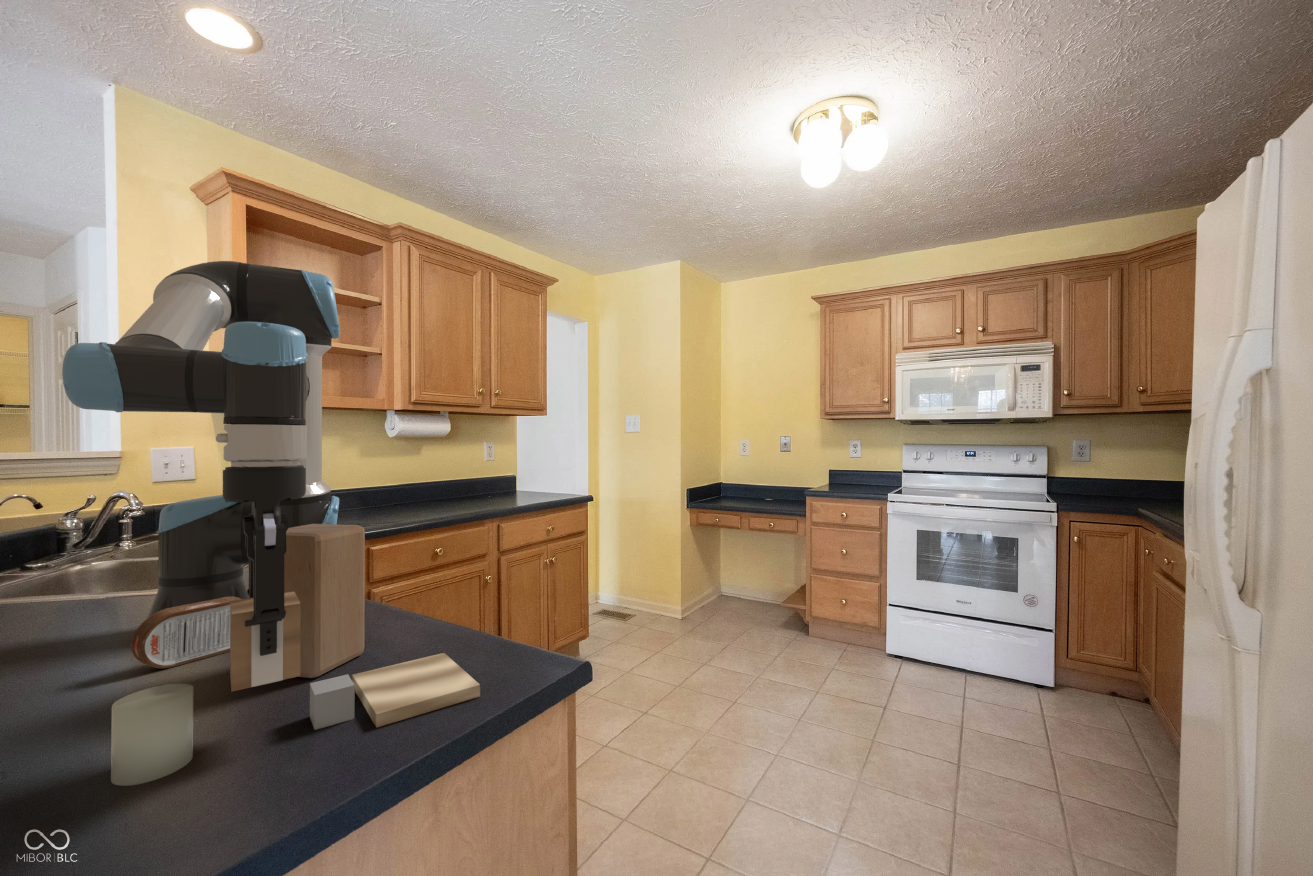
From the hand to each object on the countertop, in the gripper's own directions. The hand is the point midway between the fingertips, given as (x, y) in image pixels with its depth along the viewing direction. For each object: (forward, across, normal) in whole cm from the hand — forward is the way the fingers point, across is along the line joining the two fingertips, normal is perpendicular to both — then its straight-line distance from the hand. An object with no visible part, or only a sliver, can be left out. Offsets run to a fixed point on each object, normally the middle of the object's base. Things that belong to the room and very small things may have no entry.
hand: (264, 671), depth 60 cm
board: (+7, -1, +16) cm, 17 cm away
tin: (+8, -34, -6) cm, 35 cm away
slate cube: (+7, 0, +6) cm, 10 cm away
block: (+7, -20, +7) cm, 22 cm away
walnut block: (0, 0, 0) cm, 0 cm away
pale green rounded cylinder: (+7, 0, -9) cm, 11 cm away
